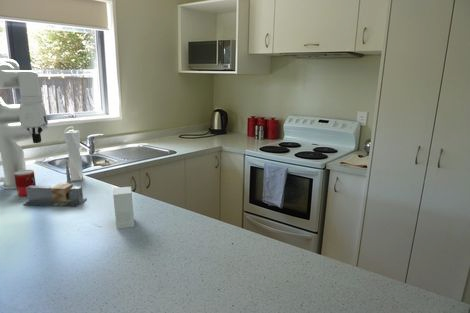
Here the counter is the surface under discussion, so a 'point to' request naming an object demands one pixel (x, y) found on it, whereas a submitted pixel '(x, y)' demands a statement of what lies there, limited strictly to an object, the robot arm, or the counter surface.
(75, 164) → the skyscraper
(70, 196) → the notched rail
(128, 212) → the small box
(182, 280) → the counter surface
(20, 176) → the canned food
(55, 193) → the tan slotted wooden block
